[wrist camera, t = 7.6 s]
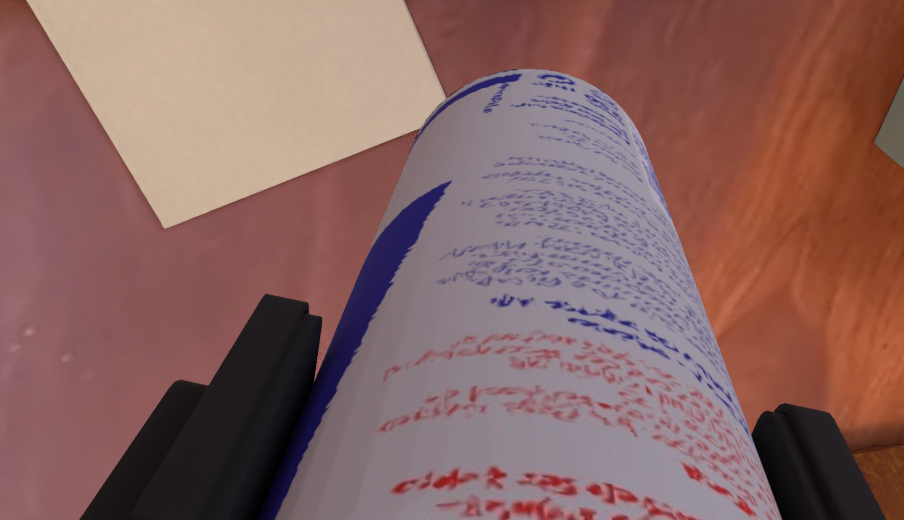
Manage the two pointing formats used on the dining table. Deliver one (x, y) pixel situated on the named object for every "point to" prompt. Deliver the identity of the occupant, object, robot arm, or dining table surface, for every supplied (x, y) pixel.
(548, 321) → the beverage can
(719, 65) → the dining table surface
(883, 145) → the open square box
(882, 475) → the bread
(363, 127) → the mat
